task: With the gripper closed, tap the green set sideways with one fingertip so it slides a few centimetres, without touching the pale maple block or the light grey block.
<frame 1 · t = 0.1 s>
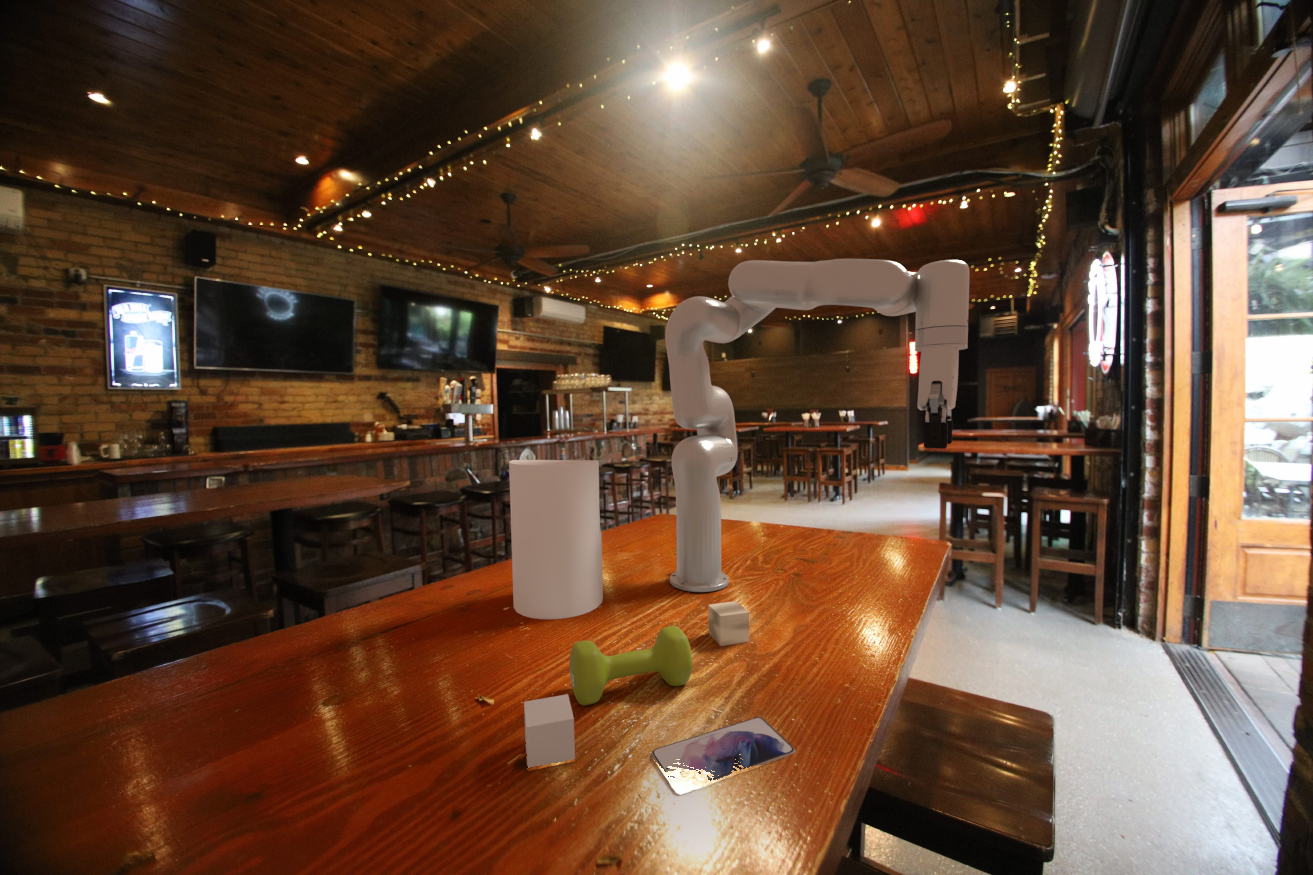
hand: (938, 445, 86), 31 cm above the table, tool pointing down, fingers open, 9 cm apart
grey block: (549, 752, 59), on the table
smartphone: (723, 758, 58), on the table
maple block: (728, 637, 87), on the table
cylinder: (558, 602, 104), on the table
dumbbell: (631, 690, 72), on the table
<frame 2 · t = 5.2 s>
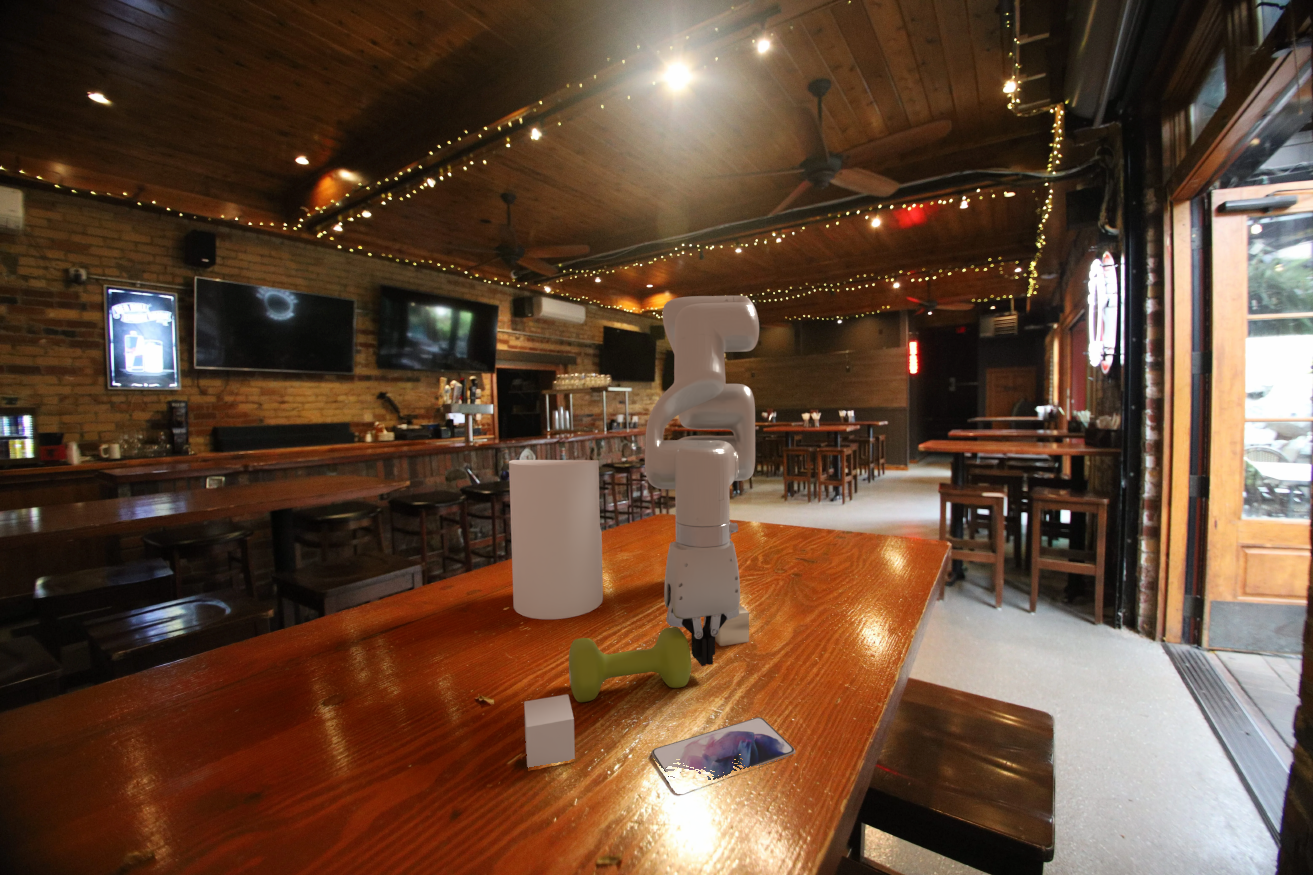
hand: (703, 660, 75), 2 cm above the table, tool pointing down, fingers closed
dumbbell: (630, 689, 72), on the table, touching gripper
everything else where it was.
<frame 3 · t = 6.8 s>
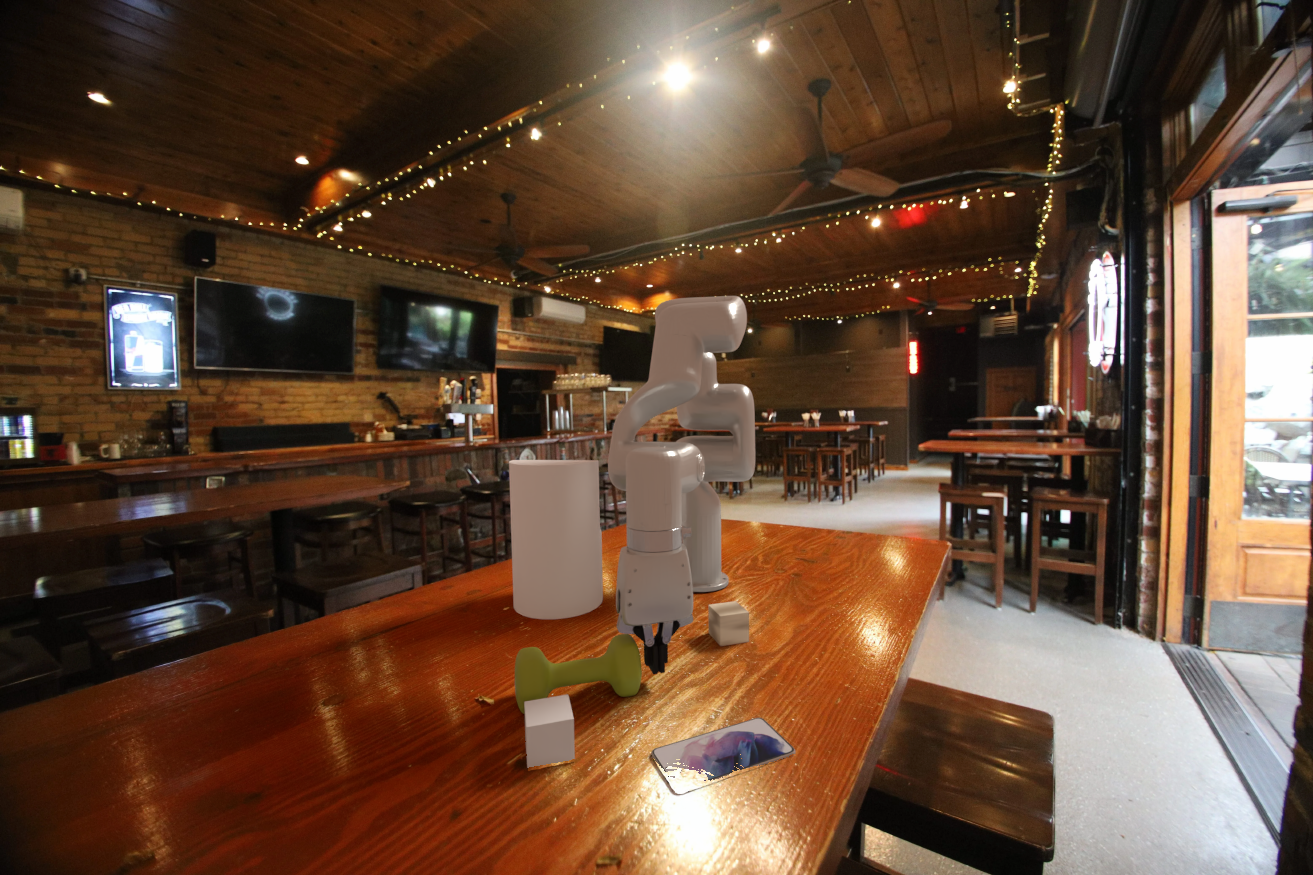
hand: (656, 668, 73), 2 cm above the table, tool pointing down, fingers closed
dumbbell: (579, 699, 70), on the table
everything else where it was.
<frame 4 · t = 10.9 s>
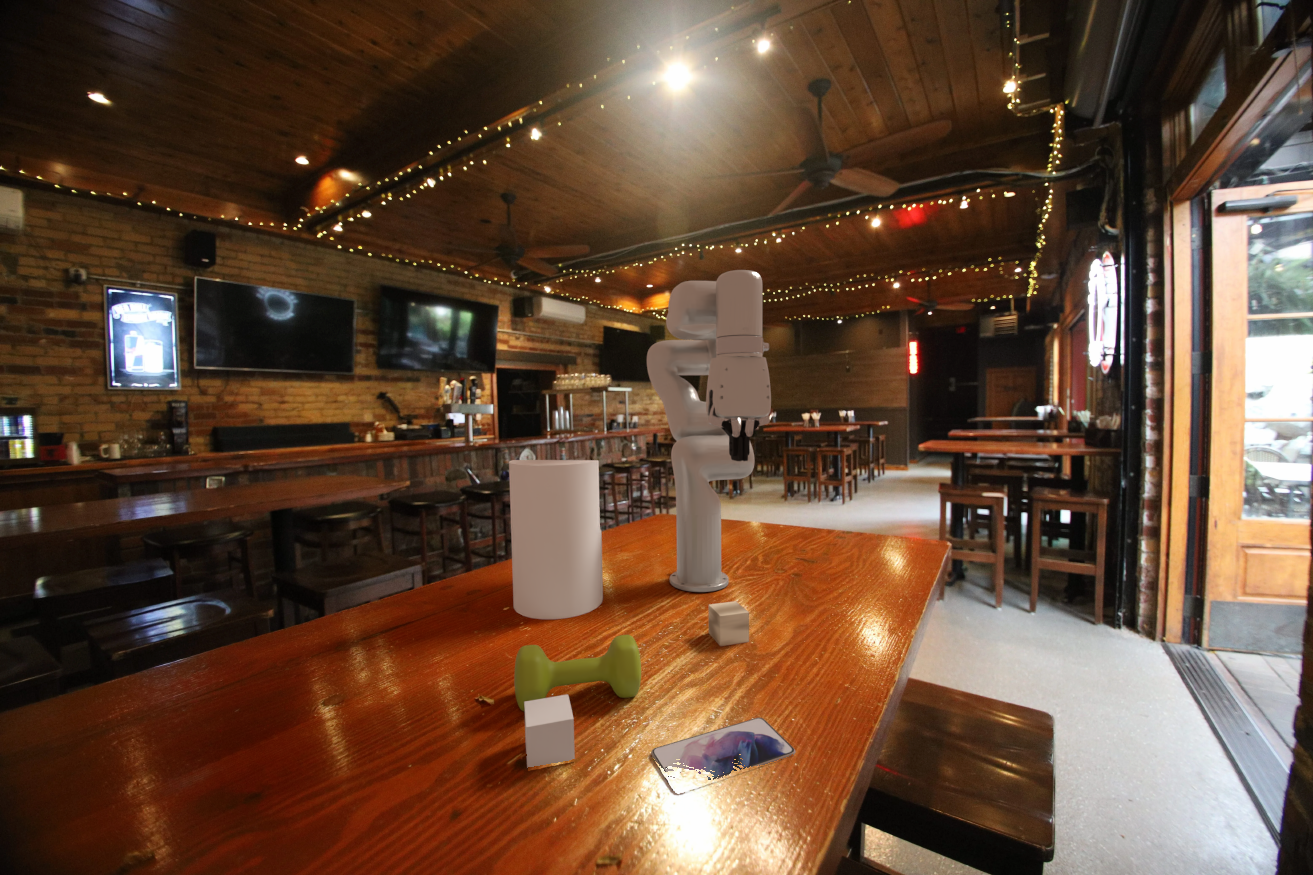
hand: (739, 460, 88), 29 cm above the table, tool pointing down, fingers closed
nothing on the table moved.
at the end: dumbbell moved 7.2 cm from its start; maple block moved 0.1 cm from its start; grey block moved 0.1 cm from its start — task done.
